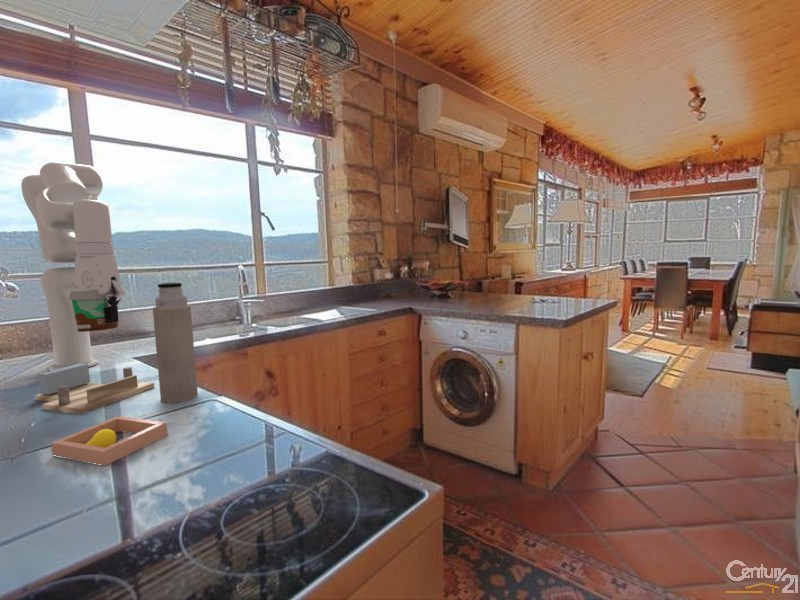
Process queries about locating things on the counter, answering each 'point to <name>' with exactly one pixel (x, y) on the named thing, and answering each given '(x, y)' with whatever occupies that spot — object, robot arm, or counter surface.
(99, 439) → the light bulb
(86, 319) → the food container
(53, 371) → the block
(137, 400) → the counter surface
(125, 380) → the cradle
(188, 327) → the thermos bottle
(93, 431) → the pink square frame
